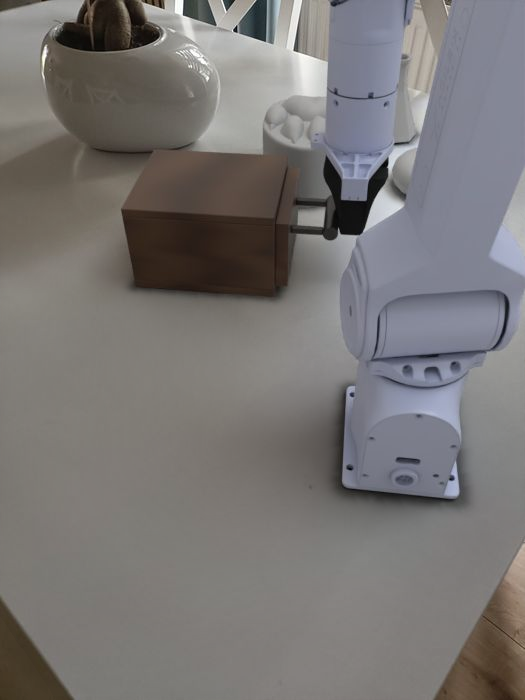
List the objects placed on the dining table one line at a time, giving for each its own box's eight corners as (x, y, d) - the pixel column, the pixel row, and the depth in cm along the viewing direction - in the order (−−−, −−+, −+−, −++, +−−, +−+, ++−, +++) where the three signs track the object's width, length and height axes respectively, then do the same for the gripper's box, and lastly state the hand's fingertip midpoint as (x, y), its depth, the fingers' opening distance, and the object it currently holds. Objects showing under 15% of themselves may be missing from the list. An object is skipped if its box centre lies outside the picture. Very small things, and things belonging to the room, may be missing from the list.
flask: (416, 146, 81) (429, 67, 74) (360, 143, 82) (368, 64, 75) (415, 123, 86) (427, 47, 79) (362, 120, 87) (370, 44, 80)
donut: (387, 205, 71) (478, 212, 69) (391, 178, 69) (485, 184, 67) (392, 164, 78) (474, 170, 76) (395, 138, 76) (480, 143, 74)
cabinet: (286, 230, 67) (288, 155, 61) (274, 296, 59) (274, 218, 53) (164, 222, 69) (154, 148, 63) (135, 286, 60) (120, 208, 54)
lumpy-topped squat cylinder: (352, 157, 79) (358, 88, 73) (346, 211, 70) (353, 137, 64) (271, 152, 80) (271, 84, 74) (255, 204, 71) (253, 131, 65)
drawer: (338, 229, 66) (343, 169, 61) (333, 289, 58) (338, 227, 54) (182, 219, 67) (176, 160, 63) (158, 277, 60) (149, 215, 55)
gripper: (319, 56, 56) (315, 192, 65) (304, 120, 45) (302, 273, 55) (399, 57, 55) (383, 195, 64) (402, 123, 45) (383, 278, 54)
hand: (351, 231), depth 59 cm, fingers closed, pressing on drawer
